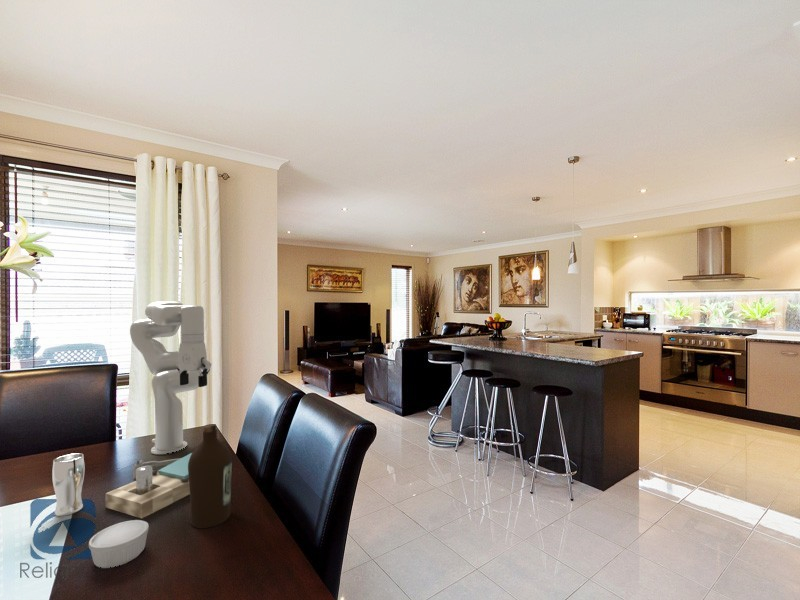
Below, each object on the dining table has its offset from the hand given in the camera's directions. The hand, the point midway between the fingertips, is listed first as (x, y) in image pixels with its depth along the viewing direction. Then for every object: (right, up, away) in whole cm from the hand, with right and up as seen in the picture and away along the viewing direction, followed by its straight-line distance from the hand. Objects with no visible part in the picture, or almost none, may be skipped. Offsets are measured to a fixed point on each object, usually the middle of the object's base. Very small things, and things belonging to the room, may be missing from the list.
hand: (193, 385), depth 142 cm
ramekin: (+11, -28, -53) cm, 61 cm away
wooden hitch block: (+3, -28, -24) cm, 37 cm away
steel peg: (+1, -28, -29) cm, 40 cm away
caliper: (-7, -29, -5) cm, 30 cm away
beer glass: (-18, -29, -33) cm, 47 cm away
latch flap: (+7, -23, -16) cm, 29 cm away
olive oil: (+25, -28, -38) cm, 54 cm away
